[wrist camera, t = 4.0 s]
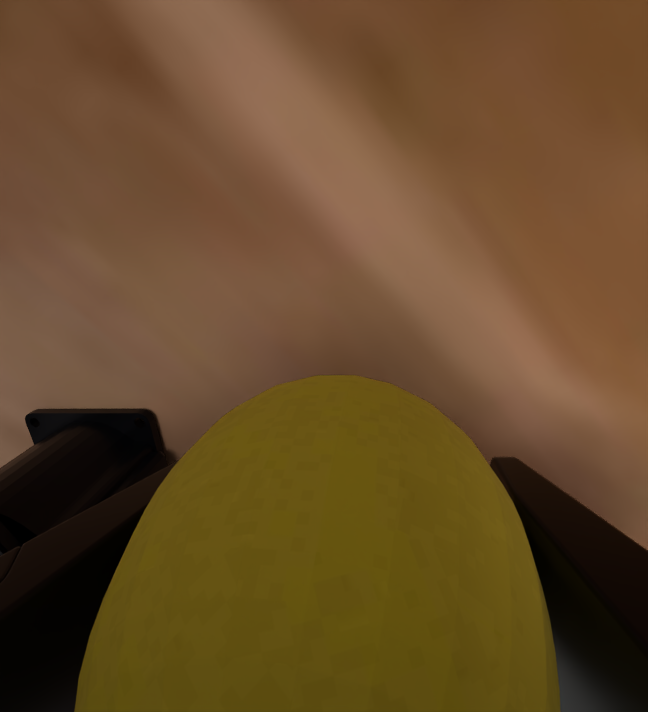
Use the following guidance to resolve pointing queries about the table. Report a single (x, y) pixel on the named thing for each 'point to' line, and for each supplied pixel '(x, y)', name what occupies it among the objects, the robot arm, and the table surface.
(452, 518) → the lemon
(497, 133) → the table surface
